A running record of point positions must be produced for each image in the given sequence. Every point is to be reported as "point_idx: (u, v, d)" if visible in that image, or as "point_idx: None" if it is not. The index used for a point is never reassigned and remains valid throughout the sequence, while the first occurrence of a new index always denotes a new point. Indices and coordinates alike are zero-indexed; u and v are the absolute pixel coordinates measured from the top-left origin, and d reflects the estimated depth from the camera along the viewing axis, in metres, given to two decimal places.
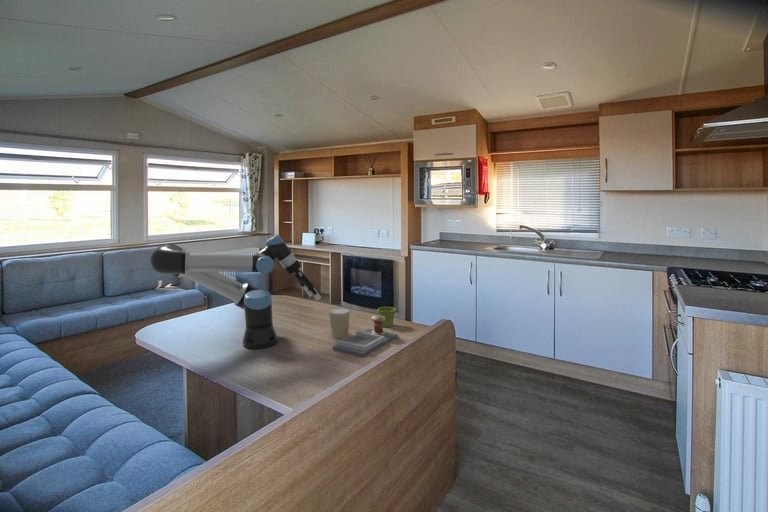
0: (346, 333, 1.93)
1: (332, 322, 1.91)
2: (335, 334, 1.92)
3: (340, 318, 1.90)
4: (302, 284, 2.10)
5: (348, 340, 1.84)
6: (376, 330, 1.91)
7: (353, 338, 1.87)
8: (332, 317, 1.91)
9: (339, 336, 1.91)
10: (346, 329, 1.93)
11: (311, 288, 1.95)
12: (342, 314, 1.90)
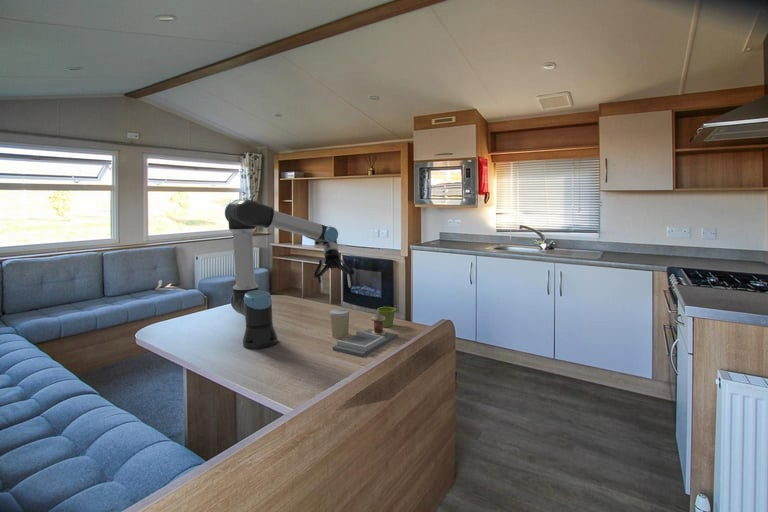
0: (346, 333, 1.93)
1: (332, 322, 1.91)
2: (335, 334, 1.92)
3: (340, 318, 1.90)
4: (321, 274, 2.05)
5: (348, 340, 1.84)
6: (376, 330, 1.91)
7: (353, 338, 1.87)
8: (332, 317, 1.91)
9: (339, 336, 1.91)
10: (346, 329, 1.93)
11: None
12: (342, 314, 1.90)
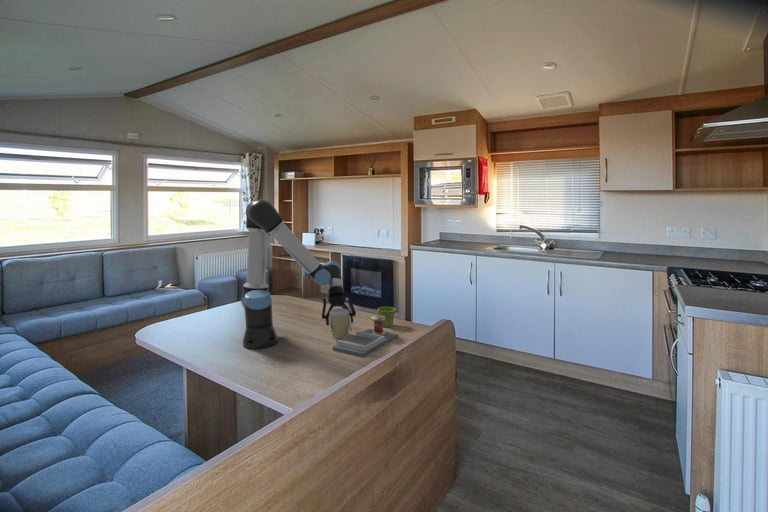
0: (346, 333, 1.93)
1: (332, 322, 1.91)
2: (335, 334, 1.92)
3: (340, 318, 1.90)
4: (329, 314, 1.95)
5: (348, 340, 1.84)
6: (376, 330, 1.91)
7: (353, 338, 1.87)
8: (332, 317, 1.91)
9: (339, 336, 1.91)
10: (346, 329, 1.93)
11: (355, 314, 1.98)
12: (342, 314, 1.90)
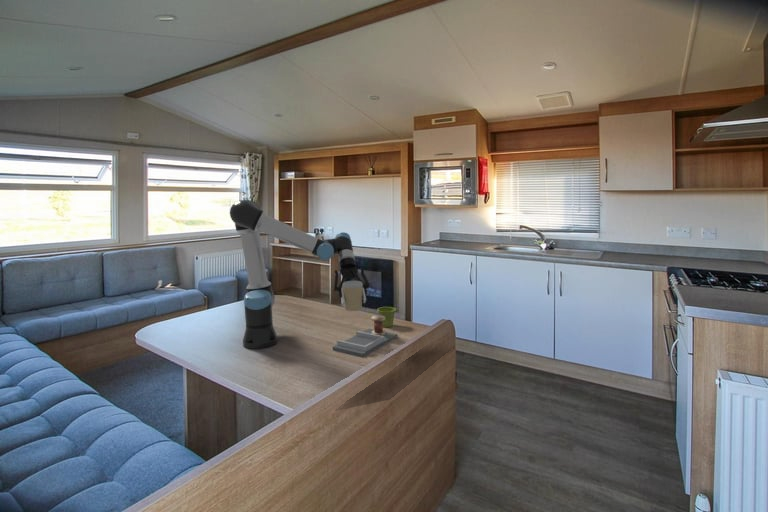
0: (360, 305, 1.85)
1: (345, 294, 1.83)
2: (349, 307, 1.83)
3: (354, 290, 1.82)
4: (341, 286, 1.87)
5: (348, 340, 1.84)
6: (376, 330, 1.91)
7: (353, 338, 1.87)
8: (345, 289, 1.82)
9: (352, 308, 1.83)
10: (360, 301, 1.85)
11: (368, 286, 1.90)
12: (356, 285, 1.82)
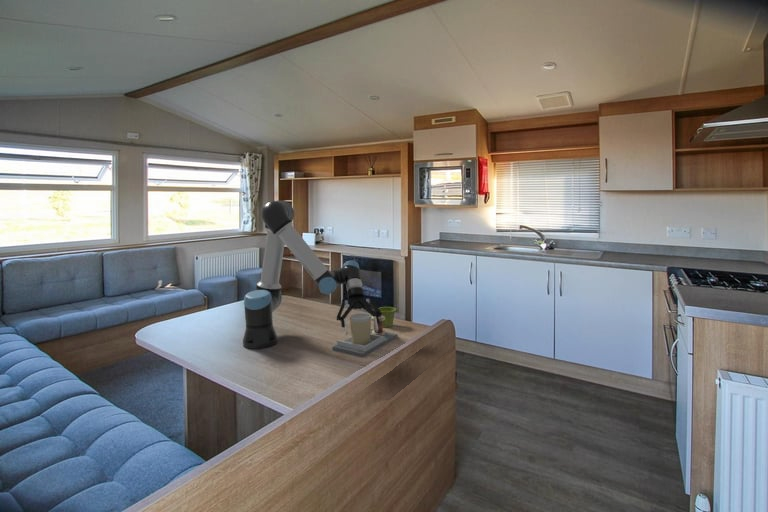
0: (368, 340, 1.79)
1: (353, 328, 1.77)
2: (357, 341, 1.77)
3: (362, 324, 1.76)
4: (345, 316, 1.81)
5: (348, 340, 1.84)
6: None
7: None
8: (353, 323, 1.76)
9: (360, 343, 1.77)
10: (368, 336, 1.78)
11: None
12: (364, 320, 1.76)
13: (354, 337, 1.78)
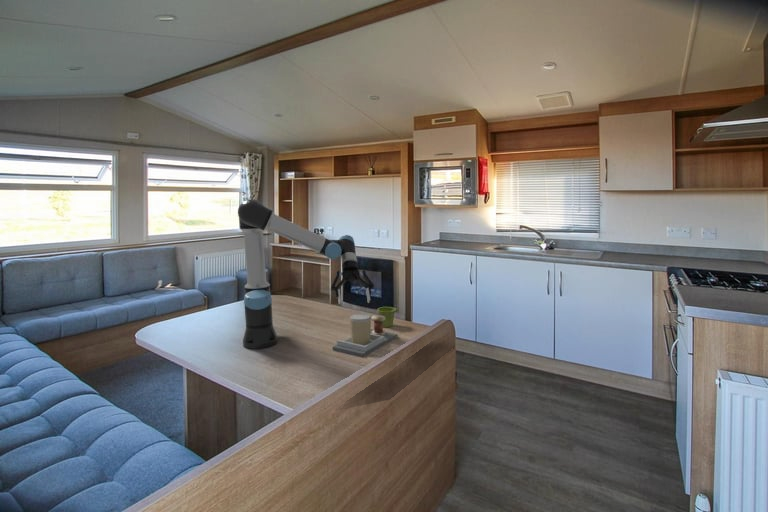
0: (368, 340, 1.79)
1: (353, 328, 1.77)
2: (357, 341, 1.77)
3: (362, 324, 1.76)
4: (339, 287, 1.92)
5: (348, 340, 1.84)
6: (376, 330, 1.91)
7: None
8: (353, 323, 1.76)
9: (360, 343, 1.77)
10: (368, 336, 1.78)
11: None
12: (364, 320, 1.76)
13: (354, 337, 1.78)
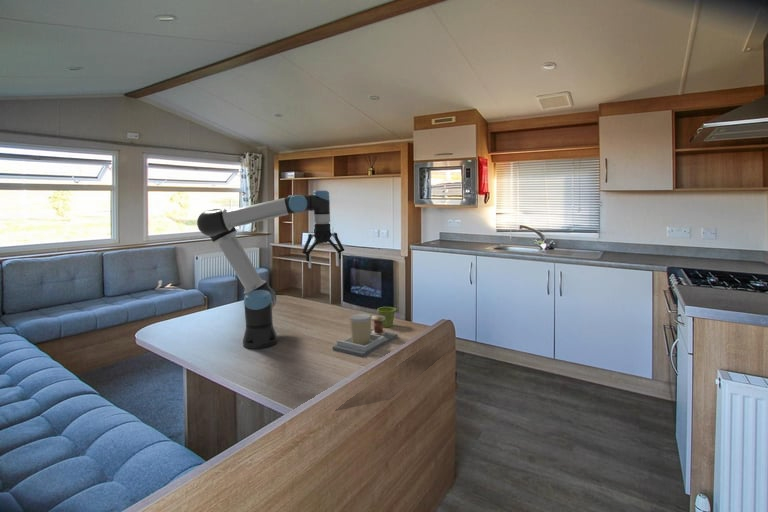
0: (368, 340, 1.79)
1: (353, 328, 1.77)
2: (357, 341, 1.77)
3: (362, 324, 1.76)
4: (310, 251, 1.96)
5: (348, 340, 1.84)
6: (376, 330, 1.91)
7: None
8: (353, 323, 1.76)
9: (360, 343, 1.77)
10: (368, 336, 1.78)
11: (343, 250, 2.02)
12: (364, 320, 1.76)
13: (354, 337, 1.78)
